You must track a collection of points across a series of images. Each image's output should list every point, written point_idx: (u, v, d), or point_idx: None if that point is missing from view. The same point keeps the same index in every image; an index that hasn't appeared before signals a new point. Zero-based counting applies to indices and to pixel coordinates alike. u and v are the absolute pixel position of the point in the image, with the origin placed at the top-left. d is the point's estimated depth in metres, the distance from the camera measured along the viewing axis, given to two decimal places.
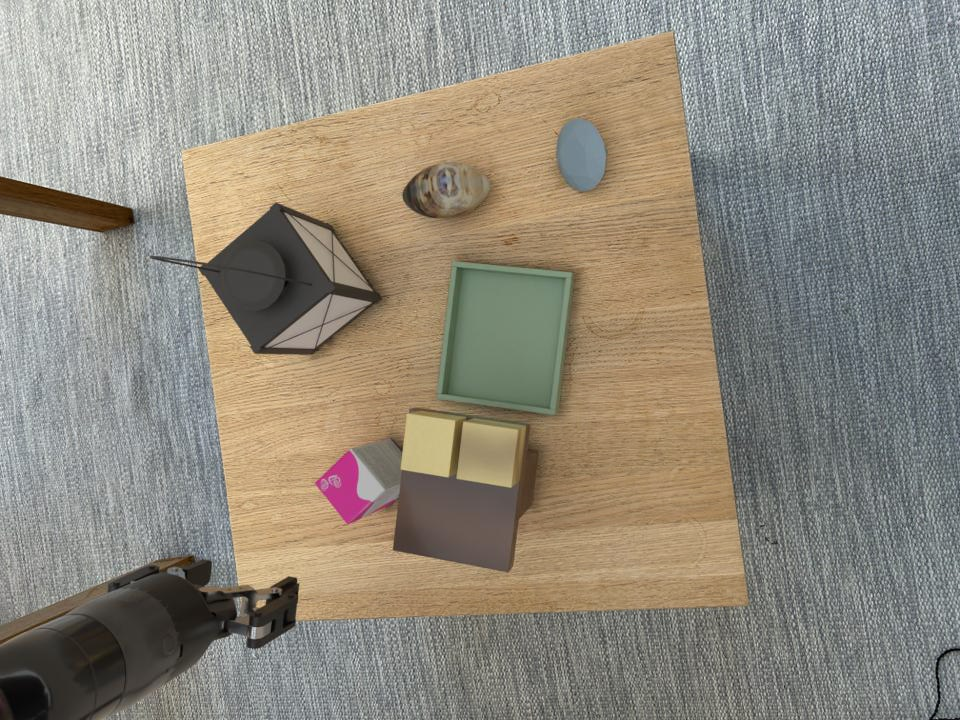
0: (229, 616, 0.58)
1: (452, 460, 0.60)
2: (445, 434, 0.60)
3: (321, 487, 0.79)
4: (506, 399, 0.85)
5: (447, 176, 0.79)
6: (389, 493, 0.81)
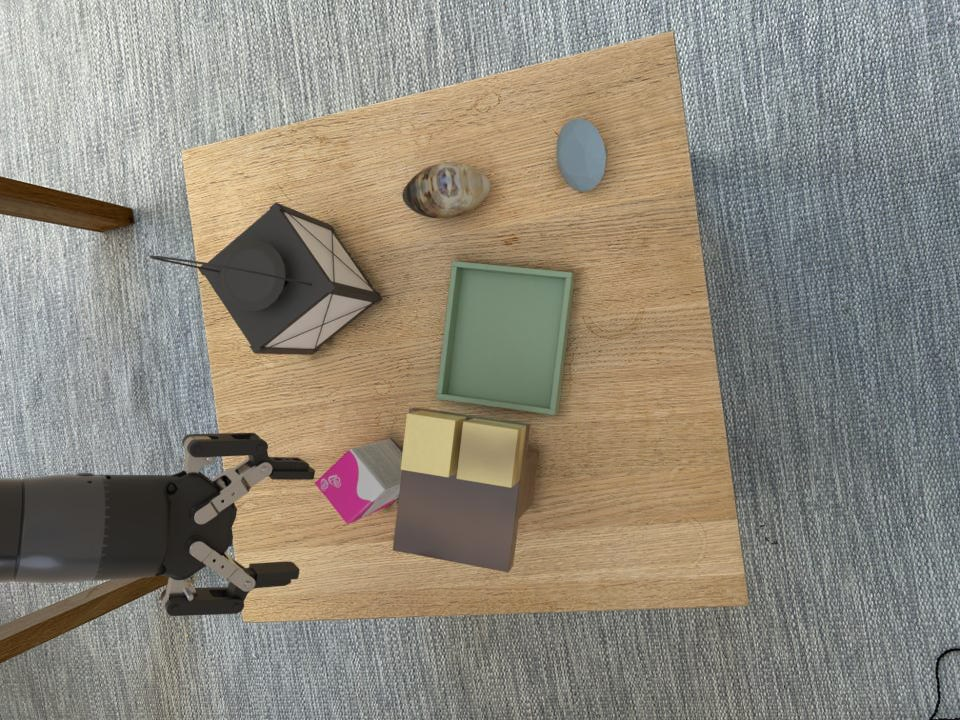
0: (183, 470, 0.59)
1: (452, 460, 0.60)
2: (445, 434, 0.60)
3: (321, 487, 0.79)
4: (506, 399, 0.85)
5: (447, 176, 0.79)
6: (389, 493, 0.81)
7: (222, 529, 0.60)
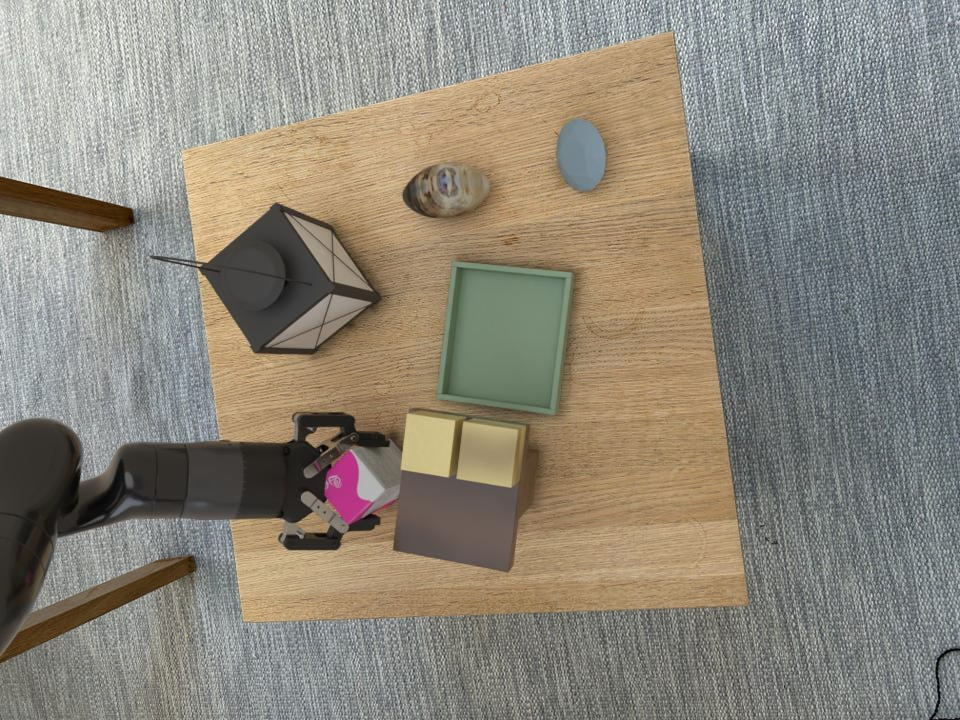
0: (293, 439, 0.78)
1: (452, 460, 0.60)
2: (445, 434, 0.60)
3: None
4: (506, 399, 0.85)
5: (447, 176, 0.79)
6: (389, 493, 0.81)
7: (323, 483, 0.78)
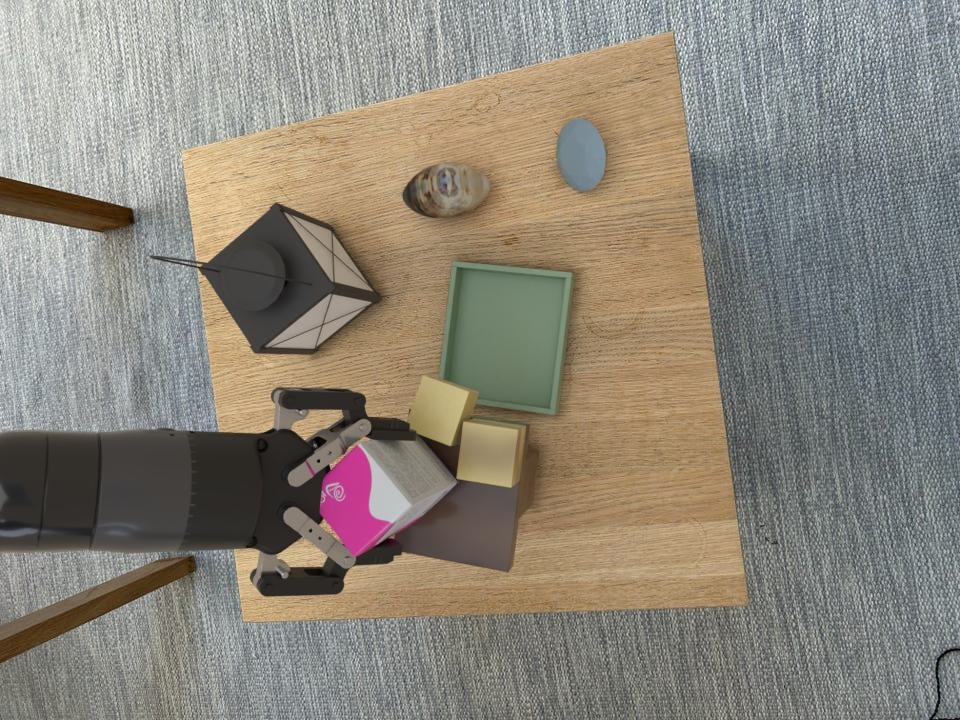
0: (273, 428, 0.52)
1: (457, 430, 0.60)
2: (456, 403, 0.60)
3: None
4: (506, 399, 0.85)
5: (447, 176, 0.79)
6: (416, 509, 0.54)
7: (318, 495, 0.52)
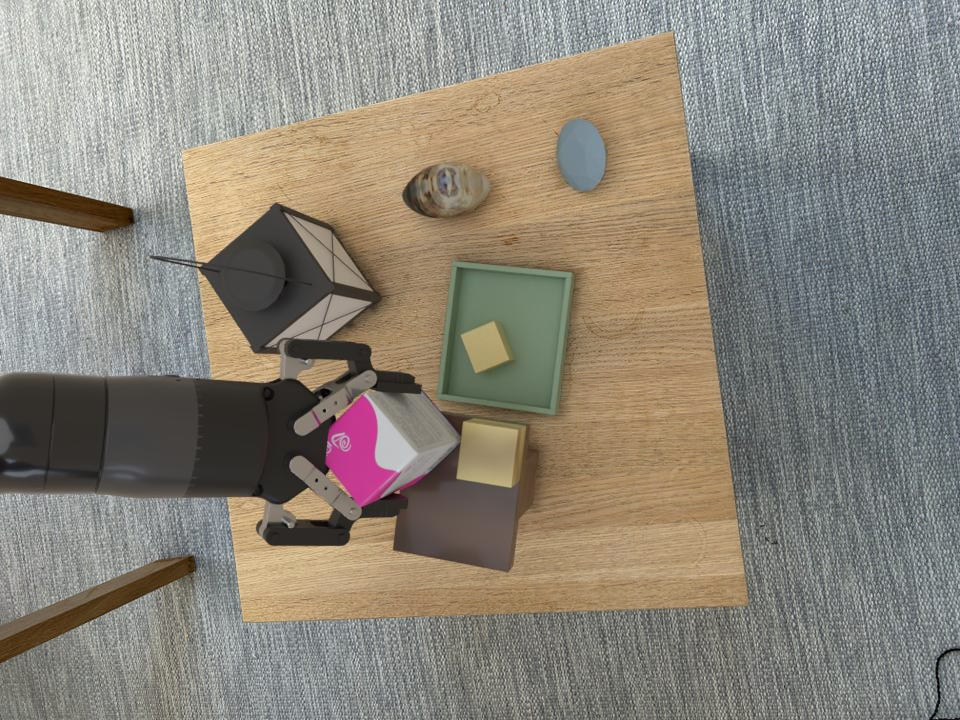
0: None
1: (503, 332, 0.85)
2: None
3: None
4: (506, 399, 0.85)
5: (447, 176, 0.79)
6: (421, 461, 0.54)
7: (323, 445, 0.52)
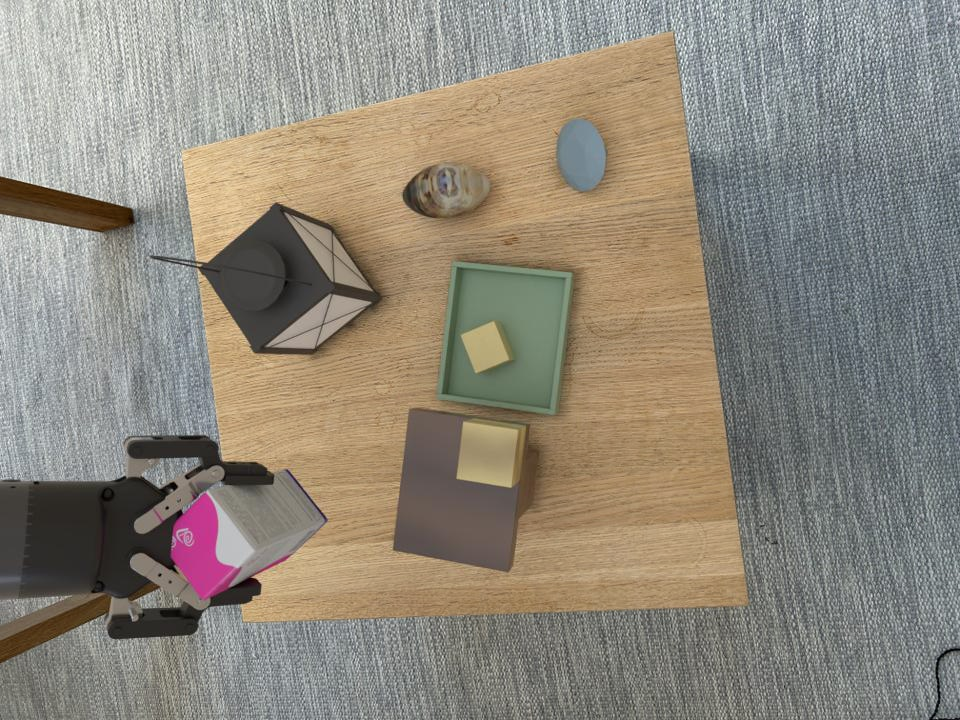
0: (125, 475, 0.54)
1: (503, 332, 0.85)
2: None
3: None
4: (506, 399, 0.85)
5: (447, 176, 0.79)
6: (270, 552, 0.56)
7: (168, 540, 0.54)
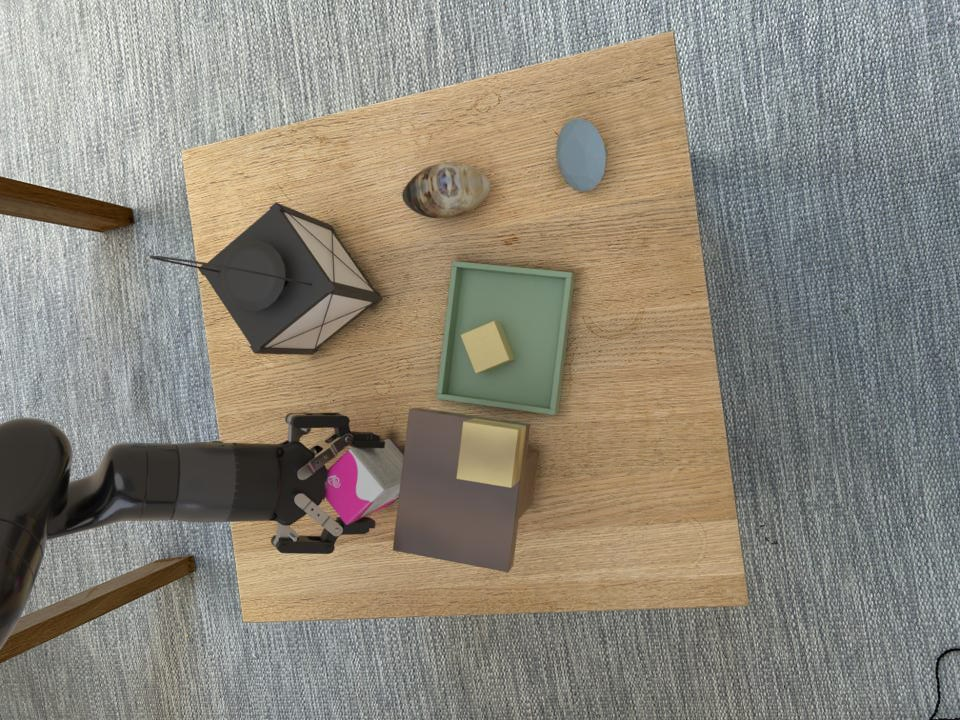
0: (287, 440, 0.77)
1: (503, 332, 0.85)
2: None
3: None
4: (506, 399, 0.85)
5: (447, 176, 0.79)
6: (388, 493, 0.81)
7: (317, 485, 0.77)
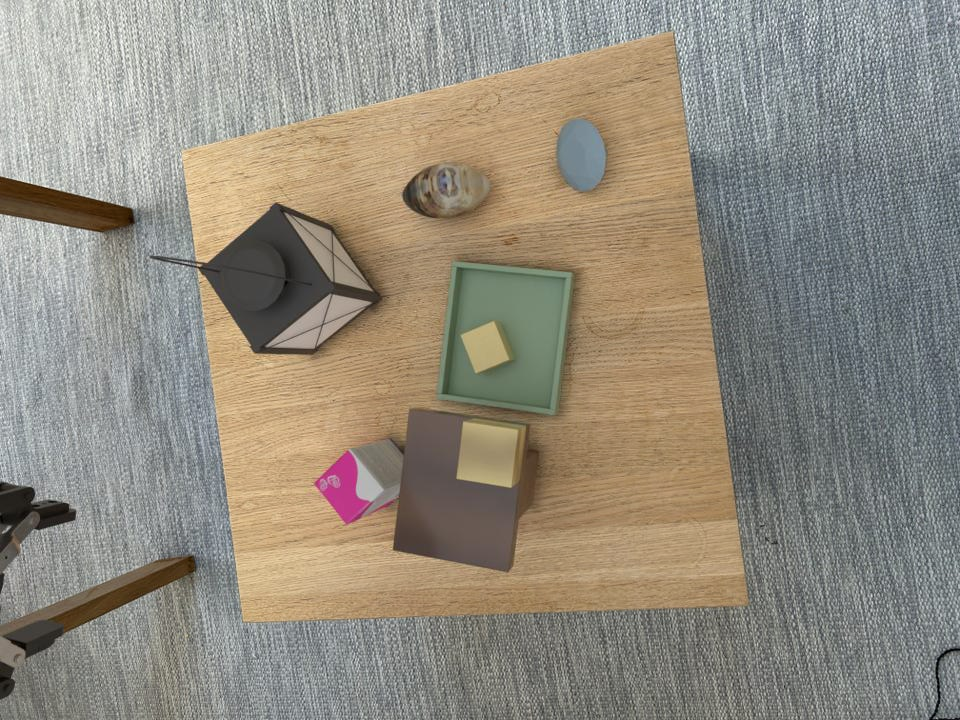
0: None
1: (503, 332, 0.85)
2: None
3: (320, 487, 0.79)
4: (506, 399, 0.85)
5: (447, 176, 0.79)
6: (388, 493, 0.81)
7: None
